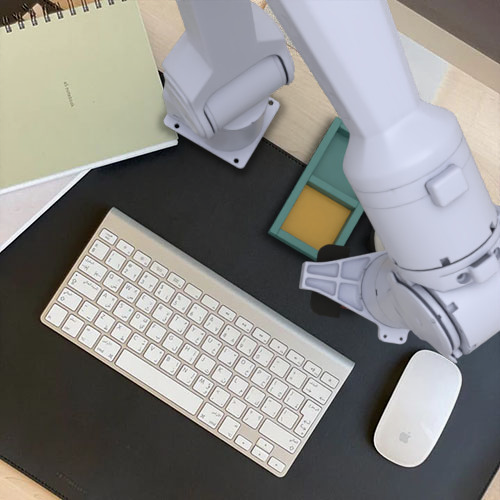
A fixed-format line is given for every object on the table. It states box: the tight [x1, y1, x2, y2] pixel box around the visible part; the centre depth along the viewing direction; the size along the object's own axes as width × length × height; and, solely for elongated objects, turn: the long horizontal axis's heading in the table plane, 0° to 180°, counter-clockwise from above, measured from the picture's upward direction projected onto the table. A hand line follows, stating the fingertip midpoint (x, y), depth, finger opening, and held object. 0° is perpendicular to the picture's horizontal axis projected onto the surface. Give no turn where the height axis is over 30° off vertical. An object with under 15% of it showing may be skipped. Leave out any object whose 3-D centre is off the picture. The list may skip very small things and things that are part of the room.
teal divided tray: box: [267, 116, 365, 262], centre depth 65 cm, size 7×13×2 cm, turn 150°
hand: (372, 291), depth 57 cm, fingers open, 7 cm apart
